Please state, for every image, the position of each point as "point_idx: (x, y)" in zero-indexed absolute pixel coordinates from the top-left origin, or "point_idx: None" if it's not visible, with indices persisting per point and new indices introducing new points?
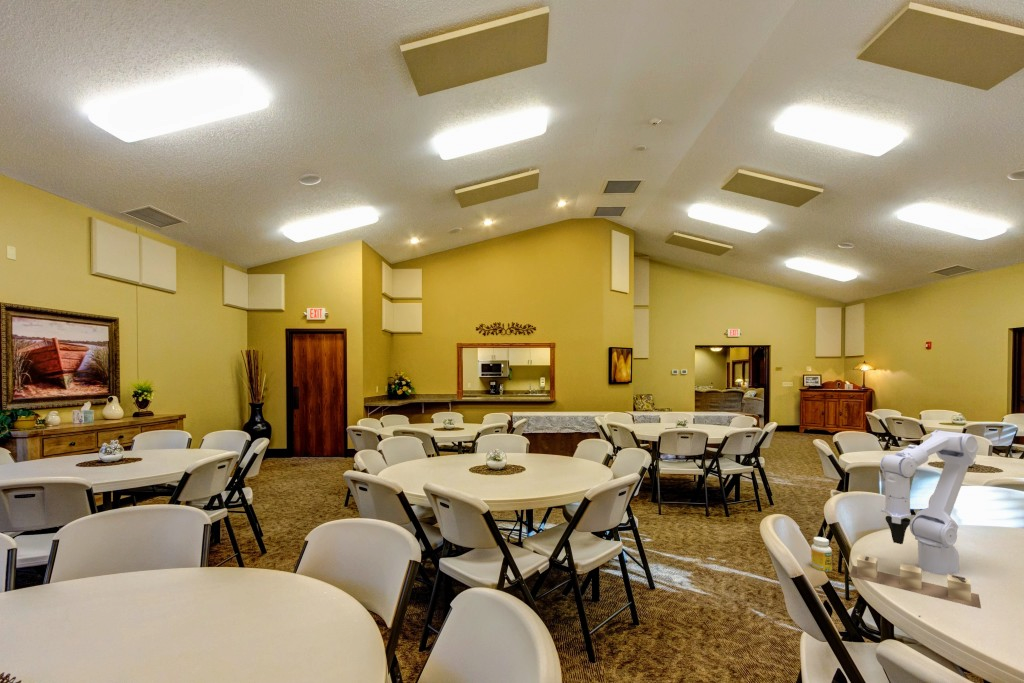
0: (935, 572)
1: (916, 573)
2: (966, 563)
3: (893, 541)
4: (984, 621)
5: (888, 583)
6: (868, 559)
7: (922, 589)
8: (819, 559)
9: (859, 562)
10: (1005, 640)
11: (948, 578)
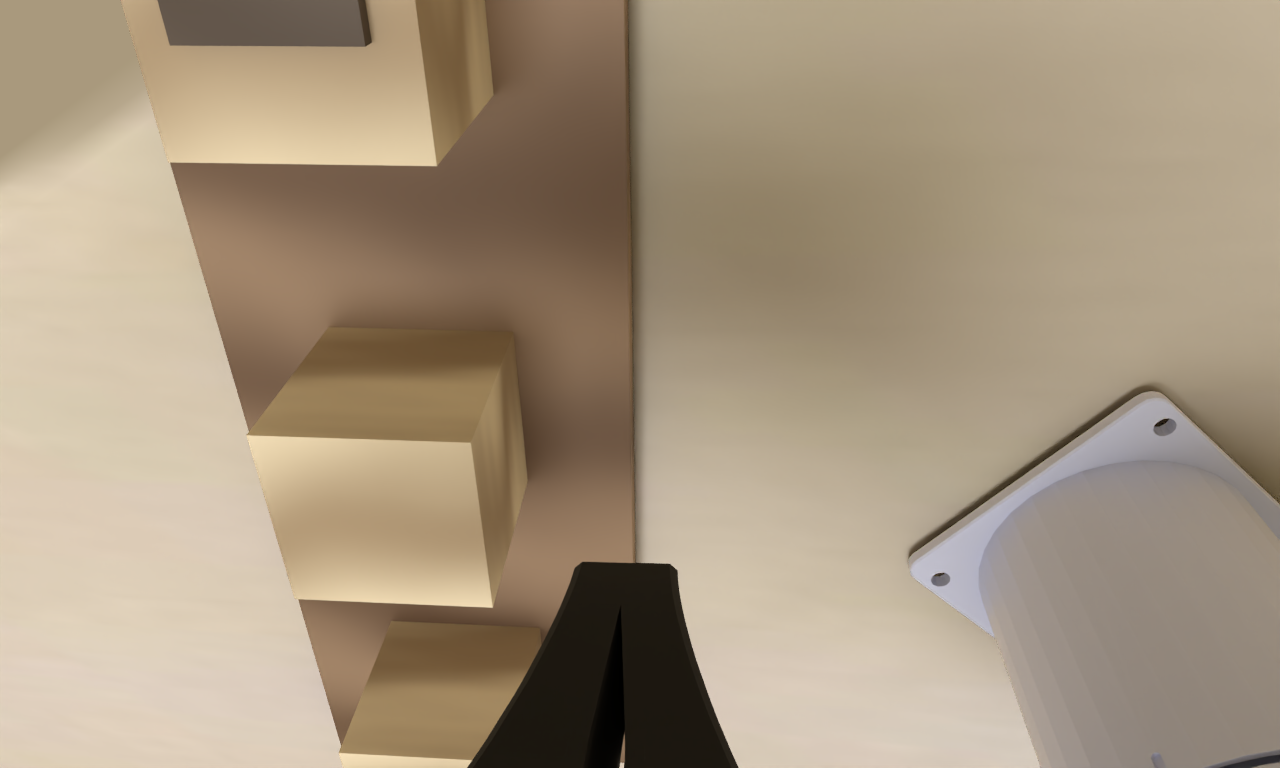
0: (985, 589)
1: (292, 560)
2: None
3: (578, 575)
4: (203, 718)
5: (268, 223)
6: (265, 44)
7: None
8: None
9: None
10: (12, 759)
11: (381, 759)
